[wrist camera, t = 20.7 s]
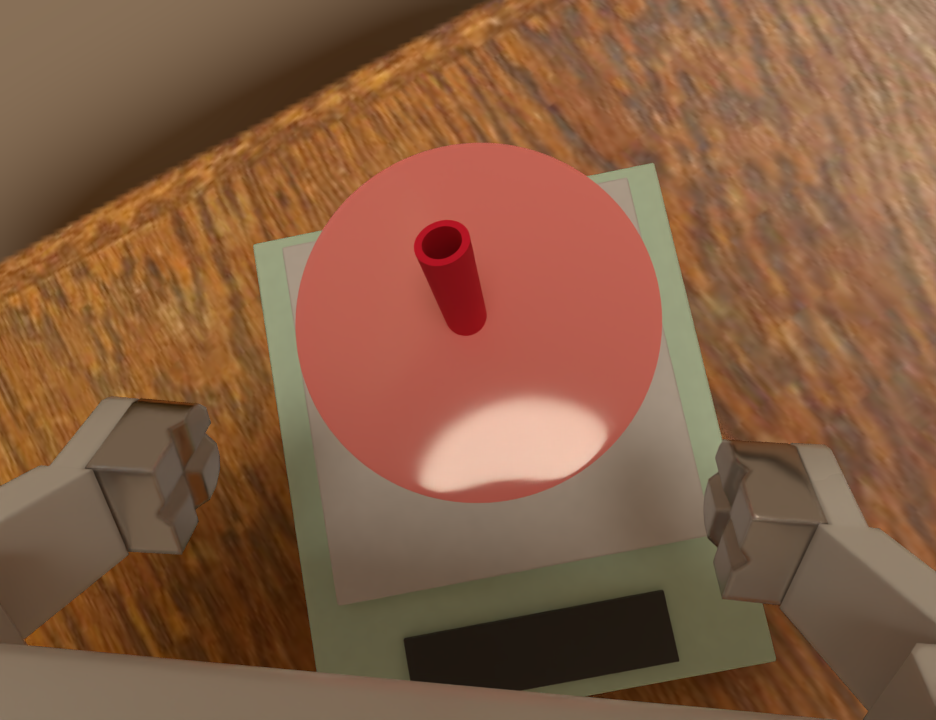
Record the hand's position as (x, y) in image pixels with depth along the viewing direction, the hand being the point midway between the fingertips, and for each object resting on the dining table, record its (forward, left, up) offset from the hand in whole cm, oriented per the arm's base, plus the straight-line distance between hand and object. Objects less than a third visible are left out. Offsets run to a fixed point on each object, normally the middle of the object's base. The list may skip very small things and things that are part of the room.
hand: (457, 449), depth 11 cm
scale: (+1, 0, -11) cm, 11 cm away
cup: (+1, +2, -8) cm, 8 cm away
